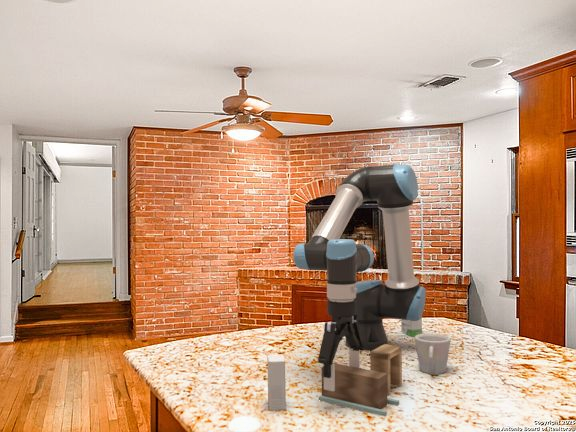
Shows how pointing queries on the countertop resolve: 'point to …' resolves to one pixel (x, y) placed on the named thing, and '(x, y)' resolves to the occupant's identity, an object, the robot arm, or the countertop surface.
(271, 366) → the skincare box
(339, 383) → the brown wooden block
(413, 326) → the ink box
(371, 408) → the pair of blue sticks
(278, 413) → the countertop surface
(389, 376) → the wooden arch block
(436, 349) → the mug
